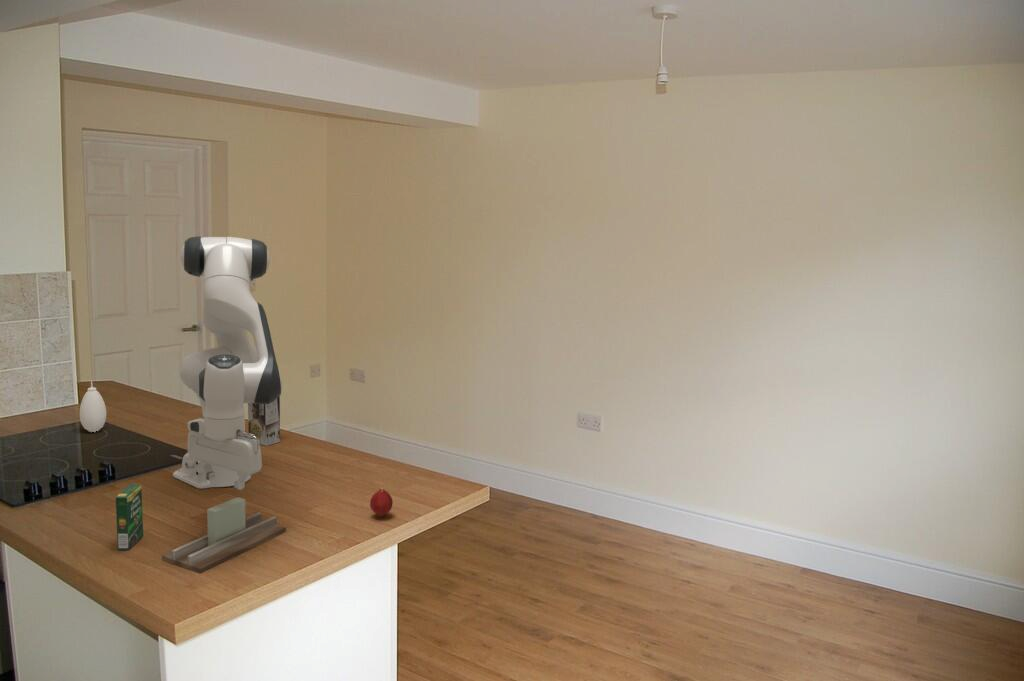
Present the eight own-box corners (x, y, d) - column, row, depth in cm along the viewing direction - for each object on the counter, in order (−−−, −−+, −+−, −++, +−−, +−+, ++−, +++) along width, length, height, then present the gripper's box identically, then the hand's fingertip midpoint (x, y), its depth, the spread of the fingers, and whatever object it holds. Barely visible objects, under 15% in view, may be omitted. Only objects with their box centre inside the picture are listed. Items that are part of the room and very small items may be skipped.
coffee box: (281, 442, 257) (280, 395, 254) (265, 446, 251) (265, 399, 249) (263, 437, 261) (262, 391, 259) (247, 441, 256) (247, 394, 253)
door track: (162, 560, 169) (161, 547, 168) (249, 520, 192) (249, 509, 191) (200, 573, 163) (200, 560, 163) (286, 531, 186) (286, 519, 186)
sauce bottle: (98, 435, 255) (96, 383, 252) (75, 434, 255) (73, 382, 252) (111, 429, 262) (109, 378, 259) (89, 428, 262) (86, 377, 259)
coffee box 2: (129, 551, 172) (127, 496, 170) (116, 551, 172) (114, 496, 170) (144, 536, 180) (142, 483, 178) (132, 536, 180) (130, 483, 178)
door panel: (207, 546, 174) (207, 509, 173) (237, 532, 182) (237, 497, 181) (215, 549, 173) (215, 511, 171) (245, 535, 181) (245, 499, 179)
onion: (371, 512, 201) (371, 483, 199) (393, 512, 201) (393, 483, 200) (368, 520, 195) (369, 491, 194) (391, 521, 196) (392, 491, 194)
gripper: (268, 431, 171) (268, 489, 174) (204, 415, 180) (204, 471, 182) (247, 438, 166) (247, 498, 168) (182, 421, 175) (182, 478, 177)
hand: (224, 484), depth 175 cm, fingers open, 8 cm apart
